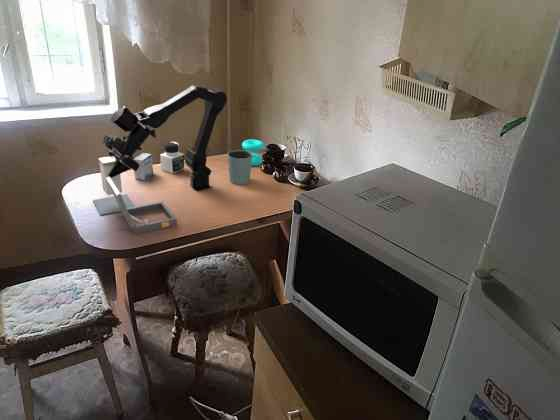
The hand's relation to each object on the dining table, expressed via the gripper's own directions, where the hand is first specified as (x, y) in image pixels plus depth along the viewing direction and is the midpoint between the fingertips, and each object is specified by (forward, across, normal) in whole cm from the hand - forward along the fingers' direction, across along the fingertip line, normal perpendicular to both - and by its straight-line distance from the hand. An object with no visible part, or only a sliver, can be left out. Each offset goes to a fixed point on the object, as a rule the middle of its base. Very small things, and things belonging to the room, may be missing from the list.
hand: (106, 174), depth 149 cm
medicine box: (-5, -19, +23) cm, 31 cm away
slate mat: (+8, 0, +10) cm, 12 cm away
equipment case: (+5, +17, +13) cm, 21 cm away
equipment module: (+4, 0, +6) cm, 7 cm away
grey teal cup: (-28, +4, +46) cm, 54 cm away
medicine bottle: (-15, -20, +32) cm, 41 cm away
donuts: (-39, -11, +57) cm, 71 cm away
